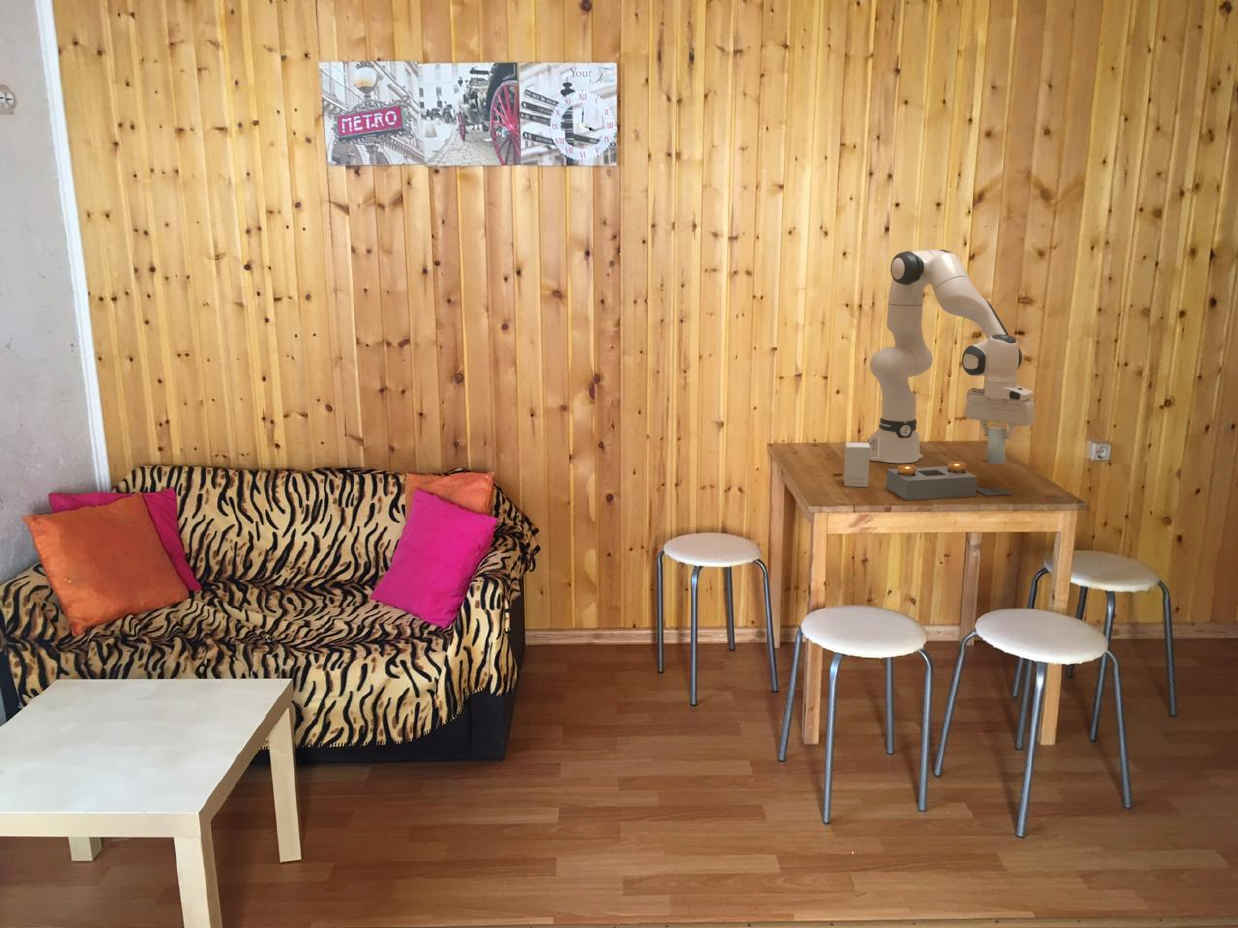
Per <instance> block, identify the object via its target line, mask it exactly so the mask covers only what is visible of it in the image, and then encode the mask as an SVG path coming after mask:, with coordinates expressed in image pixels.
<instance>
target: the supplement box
mask: <svg viewBox="0 0 1238 928" xmlns="http://www.w3.org/2000/svg"><path fill="white" fill-rule="evenodd" d="M869 458H870V445H869V443H868V442H856V441H855V442H845V448H844V467H843V468H844V472H843V485H844V487H854V488H857V487H858V488H868V487H869V478H870V477H869V476H870V474H869V473H870V459H869Z"/></svg>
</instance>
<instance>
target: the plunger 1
mask: <svg viewBox="0 0 1238 928" xmlns="http://www.w3.org/2000/svg"><path fill="white" fill-rule="evenodd" d="M916 468H917V466H916V465H915V464H911V463H899V464H898V465H897V469H898V473H899V474H901V476H903V477H904V476H912V475H913V474H915V473H916Z"/></svg>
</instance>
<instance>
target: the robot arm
mask: <svg viewBox="0 0 1238 928" xmlns="http://www.w3.org/2000/svg"><path fill="white" fill-rule="evenodd" d="M890 274H891V278H892V279H891V283H890V288H889V293H888V301H887V302H888V305H887V314H886V315H887V317H886V327H887V329H888V331H890V333H892V336H893V339H894V346H889V347H888V346H887V347H883V348H882V349H880V350H878V351H876V352H875V353H873V355H872V356H871V358H870V360H869V368H870V369H869V370H870V372H871V373H872V375H873V376H874V377H875V378H876V379H877V381H878V383H879V386H880V390H881V396H882V399H881V400H882V401H881V404H882V405H881V406H882V407H881V410H882V411H881V417H879V423H878V428H877V430H875V432H874V433H872V435H870V437H869V438H868V439H867V443H869V445H870V458H869V461H872V462H883V463H888V464H889V463H890V464H911V463H915V462H918V461H919V460H921V459H923V458H924V454H922V453H920V450H921V449H920V435H919V433H918V432H917V426H918V425H917V424H918V423H917V422H918V421H917V418H916V416H917V415H916V413H917V396H916V394H915V392H914V391H912V390H911V387H910V381H909V378H911V377H917V376H920V375H922V374H924V373H926V372H927V371H928V370H929V369H931V367H932V364H933V360H934V359H933V358H934V356H933V354H932V352H931V350H930V349H929V347H928V346H927V345H926V342H925V338H924V334H923V326H922V325H923V306H924V304H923V303H924V290H925V288H926V287H928V286H929V285H931V286H932V291H933V293H934V296H935V298H936V300H937V302H938V304H939V306H940V308H941V309H942V310H944V312H947V313H948V314H951V315H953V316H956V317H961V318H964V319H967V320H970V321H972V322H974V323H975V324H976V325H978V326H979V328H980V329H981V331H982V333H983V334H984V336H985V337H986V340H984V341H982V342H978V343H974V344H971V345H968V346H967V347H965V350H964V351H963V353H962V357H961V365H962V368H963V370H964V371H965V373H967V375H969V376H974V377H982V376H985V380H984V388H976V387H971V388H970V389H968V390H967V392H966V395H965V397H966V403H965V408H964V412H963V414H964V416H965V418H966V419H969V420H976V421H980V422H979V423H980V426H981V428H982V429H983V436H987V437H988V432H989V427H988V424H989V422H993V423H998V424H999V423H1000V424H1006V425H1008V426H1007V427H1008V428H1009V429H1007V432H1004V435H1005V436H1004V438H1006V440H1010V439H1011V438H1012V435H1013V434H1012V433H1013V432H1014V430H1015V429H1016V428H1017V426H1023V427H1029V426H1031V425H1032V424H1034V422H1035V419H1036V418H1035V416H1036V411H1035V408H1036V407H1035V403H1034V401H1033V400H1032V399H1033V397H1034V392H1033V391H1032V390H1030V389H1028V388H1025V387H1023V386H1021V385H1019V384H1018V377H1017V371H1018V370H1019V369H1020V367H1021V365H1022V362H1023V353H1022V351H1021V348H1020V347H1019V343H1018V339H1017V338H1015V337H1014V336H1012V335H1009V333H1008V331H1007V329H1006V328H1005V326H1004V324H1003V323H1002V321H1001V319H1000V318H999V316H998V314H997V312H996V311H995V309H994V308H993V306H992V304H991V303H990V302H989V301H988V299H986V298H985V297H984V296H982V295H981V294H980V293H979V292H978V290H977V289H976V288H975V285H974V284H973V283H972V280H971V279H970V276H969V274H968V272H967V269H966V268H965V266H964V265H963V263H962V262H961V259H959V257H958V256H957V255H956V254H955V253H953V252H951V251H949V250H946V249H927V248H926V249H920V250H914V251H913V250H911V251H908V250H906V251H902V252H899V253H897V254H896V255H895V256H894V257H893V259H892V261H891V263H890Z"/></svg>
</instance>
